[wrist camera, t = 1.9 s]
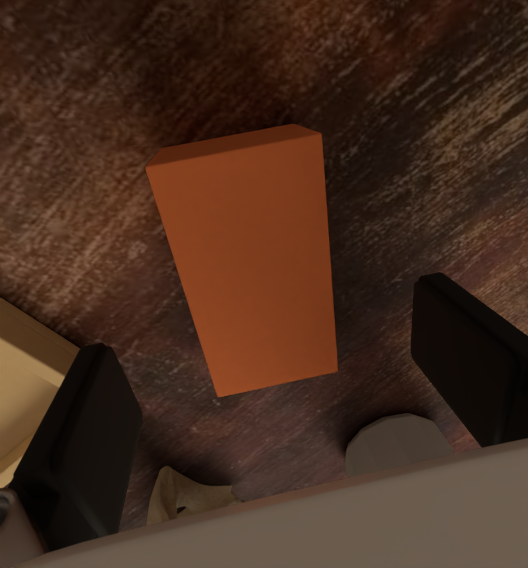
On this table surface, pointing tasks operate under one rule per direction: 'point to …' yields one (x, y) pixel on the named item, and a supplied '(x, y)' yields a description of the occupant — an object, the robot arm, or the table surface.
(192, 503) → the bone
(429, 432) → the water bottle
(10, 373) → the wooden tray
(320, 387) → the table surface
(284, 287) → the orange angular block
